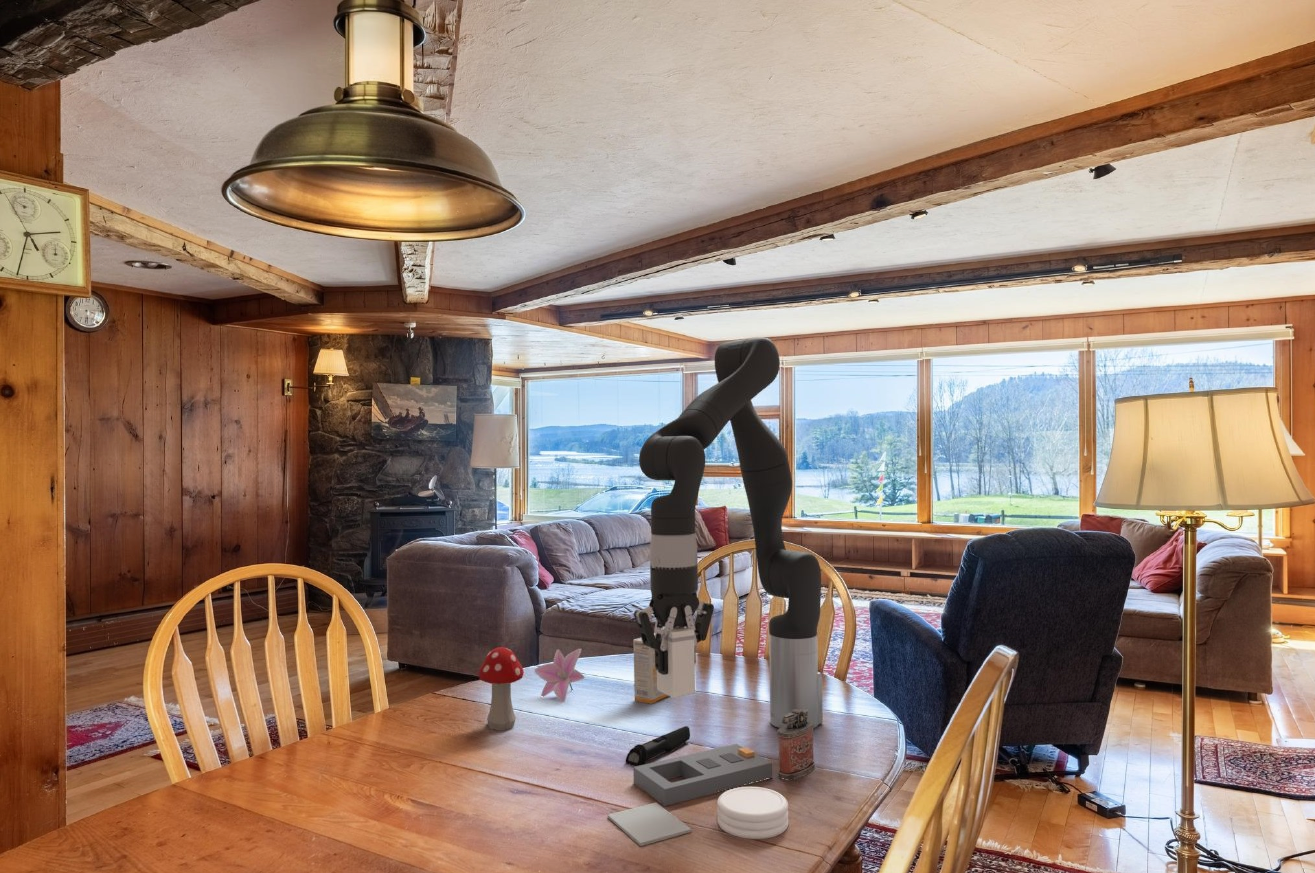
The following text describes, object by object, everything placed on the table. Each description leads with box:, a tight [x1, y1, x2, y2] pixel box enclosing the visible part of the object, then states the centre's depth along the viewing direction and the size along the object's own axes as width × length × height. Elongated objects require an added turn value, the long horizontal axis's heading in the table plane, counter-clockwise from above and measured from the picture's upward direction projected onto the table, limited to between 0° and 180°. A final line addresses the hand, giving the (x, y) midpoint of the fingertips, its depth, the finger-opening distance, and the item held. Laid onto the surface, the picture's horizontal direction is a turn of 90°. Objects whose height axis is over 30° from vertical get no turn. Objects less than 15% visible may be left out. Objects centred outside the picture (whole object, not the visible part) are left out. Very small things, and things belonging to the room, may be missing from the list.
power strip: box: [633, 743, 773, 807], centre depth 130 cm, size 20×10×3 cm, turn 120°
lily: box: [534, 648, 585, 703], centre depth 178 cm, size 12×12×10 cm
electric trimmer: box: [625, 725, 691, 767], centre depth 142 cm, size 4×16×3 cm, turn 141°
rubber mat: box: [607, 802, 692, 847], centre depth 114 cm, size 8×10×1 cm
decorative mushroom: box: [478, 646, 525, 731], centre depth 158 cm, size 10×9×15 cm
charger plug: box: [657, 626, 696, 699], centre depth 128 cm, size 4×5×10 cm
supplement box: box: [632, 632, 669, 704], centre depth 175 cm, size 8×5×13 cm, turn 144°
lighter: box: [777, 709, 816, 781], centre depth 133 cm, size 8×3×10 cm, turn 134°
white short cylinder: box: [716, 786, 789, 840], centre depth 115 cm, size 10×10×4 cm
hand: (675, 670), depth 128 cm, fingers closed on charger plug, 4 cm apart
